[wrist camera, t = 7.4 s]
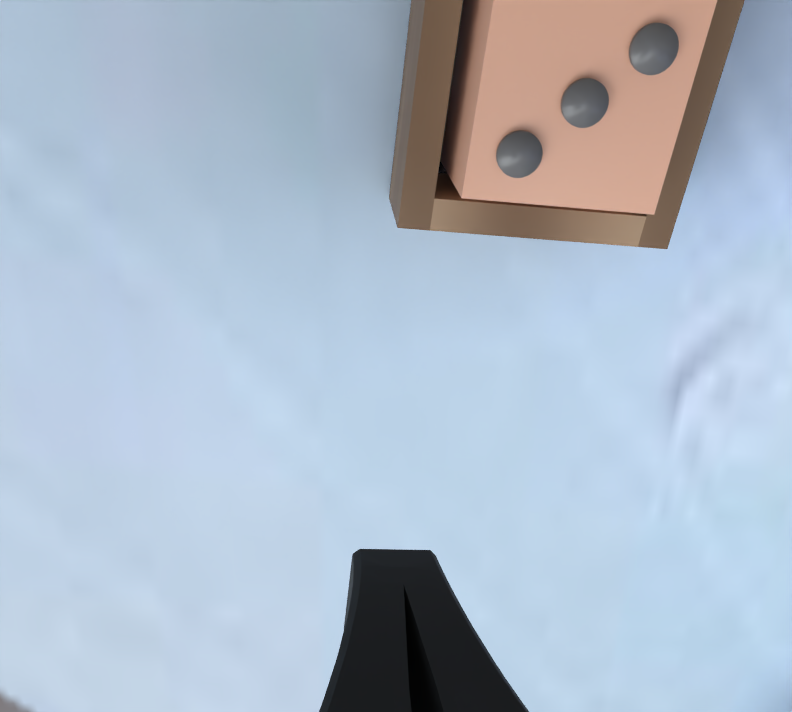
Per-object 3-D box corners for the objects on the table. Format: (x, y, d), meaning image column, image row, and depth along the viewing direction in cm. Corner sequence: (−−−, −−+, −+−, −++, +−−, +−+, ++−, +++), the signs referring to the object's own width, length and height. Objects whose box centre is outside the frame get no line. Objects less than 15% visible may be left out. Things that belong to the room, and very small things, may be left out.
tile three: (655, -13, 18) (721, -3, 15) (606, 176, 20) (656, 216, 17) (469, -37, 17) (500, -32, 14) (440, 161, 19) (462, 200, 16)
